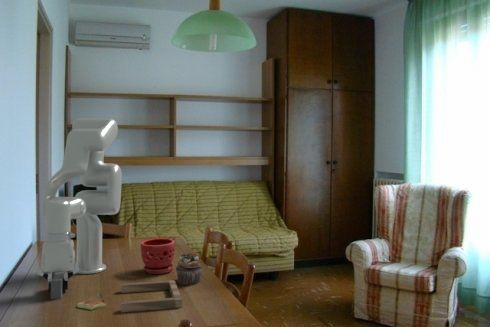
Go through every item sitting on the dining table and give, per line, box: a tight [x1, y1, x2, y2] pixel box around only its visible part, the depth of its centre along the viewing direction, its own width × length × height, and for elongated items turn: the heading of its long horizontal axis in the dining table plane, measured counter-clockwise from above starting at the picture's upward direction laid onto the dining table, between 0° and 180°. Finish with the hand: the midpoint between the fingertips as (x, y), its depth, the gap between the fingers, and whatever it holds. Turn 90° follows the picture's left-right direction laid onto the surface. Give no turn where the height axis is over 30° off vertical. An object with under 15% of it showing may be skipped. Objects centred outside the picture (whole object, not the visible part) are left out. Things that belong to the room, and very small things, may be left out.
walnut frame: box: [120, 279, 183, 313], centre depth 142 cm, size 20×18×2 cm
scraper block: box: [50, 272, 64, 300], centre depth 146 cm, size 12×3×6 cm, turn 16°
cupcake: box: [175, 253, 203, 285], centre depth 161 cm, size 10×10×10 cm
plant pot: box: [140, 237, 176, 275], centre depth 174 cm, size 13×13×12 cm
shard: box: [77, 293, 107, 311], centre depth 138 cm, size 11×8×2 cm
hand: (58, 291), depth 147 cm, fingers closed on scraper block, 3 cm apart
